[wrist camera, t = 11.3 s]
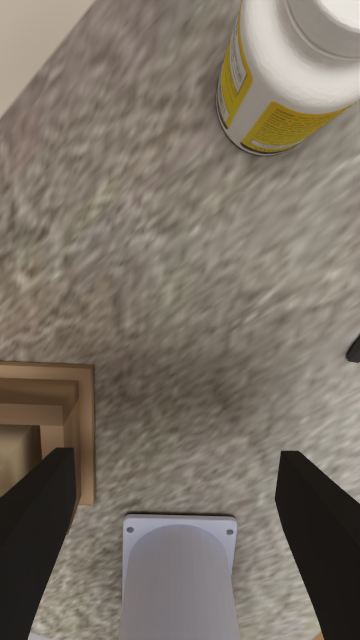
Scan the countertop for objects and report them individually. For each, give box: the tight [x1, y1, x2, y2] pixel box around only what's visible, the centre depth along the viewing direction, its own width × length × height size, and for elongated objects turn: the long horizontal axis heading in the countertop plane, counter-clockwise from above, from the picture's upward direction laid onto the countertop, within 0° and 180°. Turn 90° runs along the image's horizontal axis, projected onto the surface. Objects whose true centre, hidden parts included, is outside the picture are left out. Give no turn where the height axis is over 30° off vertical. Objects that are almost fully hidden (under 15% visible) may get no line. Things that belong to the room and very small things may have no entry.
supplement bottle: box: [216, 0, 360, 155], centre depth 12 cm, size 5×5×10 cm
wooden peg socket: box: [0, 361, 95, 535], centre depth 20 cm, size 10×10×4 cm
